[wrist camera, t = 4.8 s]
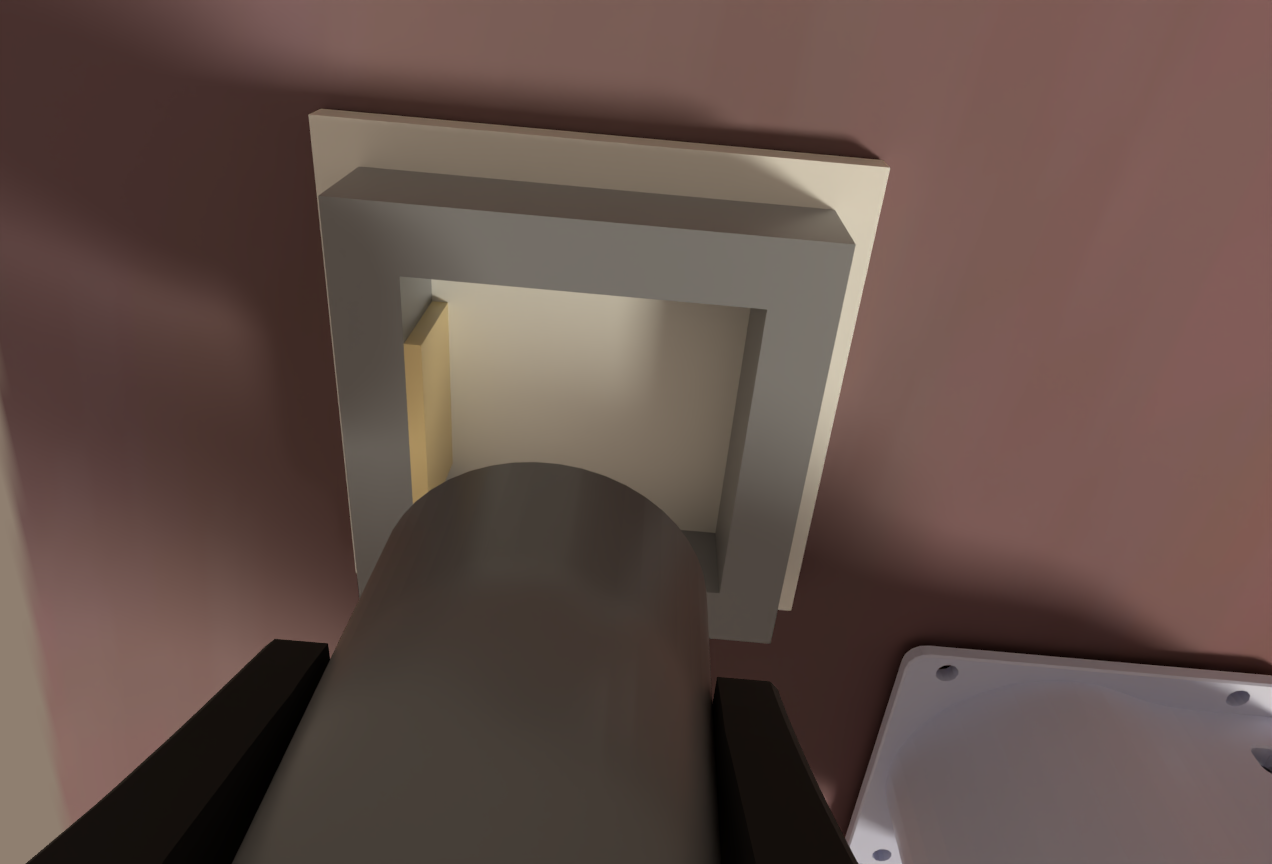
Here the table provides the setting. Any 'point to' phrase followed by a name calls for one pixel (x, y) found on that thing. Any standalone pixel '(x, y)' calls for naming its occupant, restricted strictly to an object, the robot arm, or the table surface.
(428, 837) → the knob
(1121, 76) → the table surface
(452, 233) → the hub plate
